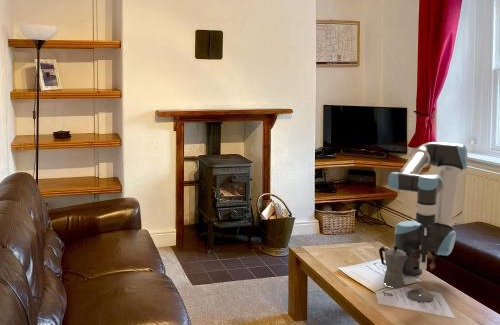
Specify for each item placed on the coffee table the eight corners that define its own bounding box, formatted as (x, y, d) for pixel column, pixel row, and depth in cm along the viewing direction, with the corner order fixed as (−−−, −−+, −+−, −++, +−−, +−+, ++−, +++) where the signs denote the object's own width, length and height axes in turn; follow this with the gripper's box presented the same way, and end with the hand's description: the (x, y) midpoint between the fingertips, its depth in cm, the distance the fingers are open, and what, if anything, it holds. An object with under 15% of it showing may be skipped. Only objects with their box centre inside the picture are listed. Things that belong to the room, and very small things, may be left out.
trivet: (406, 290, 237) (406, 288, 237) (433, 293, 234) (433, 290, 234) (406, 300, 227) (407, 298, 226) (434, 304, 224) (434, 301, 223)
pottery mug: (429, 273, 220) (419, 255, 221) (412, 275, 228) (403, 258, 229) (445, 259, 227) (436, 241, 227) (429, 262, 235) (420, 245, 235)
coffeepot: (412, 286, 241) (414, 247, 237) (399, 292, 235) (401, 252, 232) (384, 275, 253) (386, 238, 249) (371, 280, 247) (372, 243, 243)
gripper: (415, 205, 235) (412, 254, 239) (416, 219, 214) (413, 273, 218) (434, 206, 233) (430, 256, 237) (436, 221, 212) (433, 275, 216)
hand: (422, 264), depth 228 cm, fingers closed on pottery mug, 9 cm apart
